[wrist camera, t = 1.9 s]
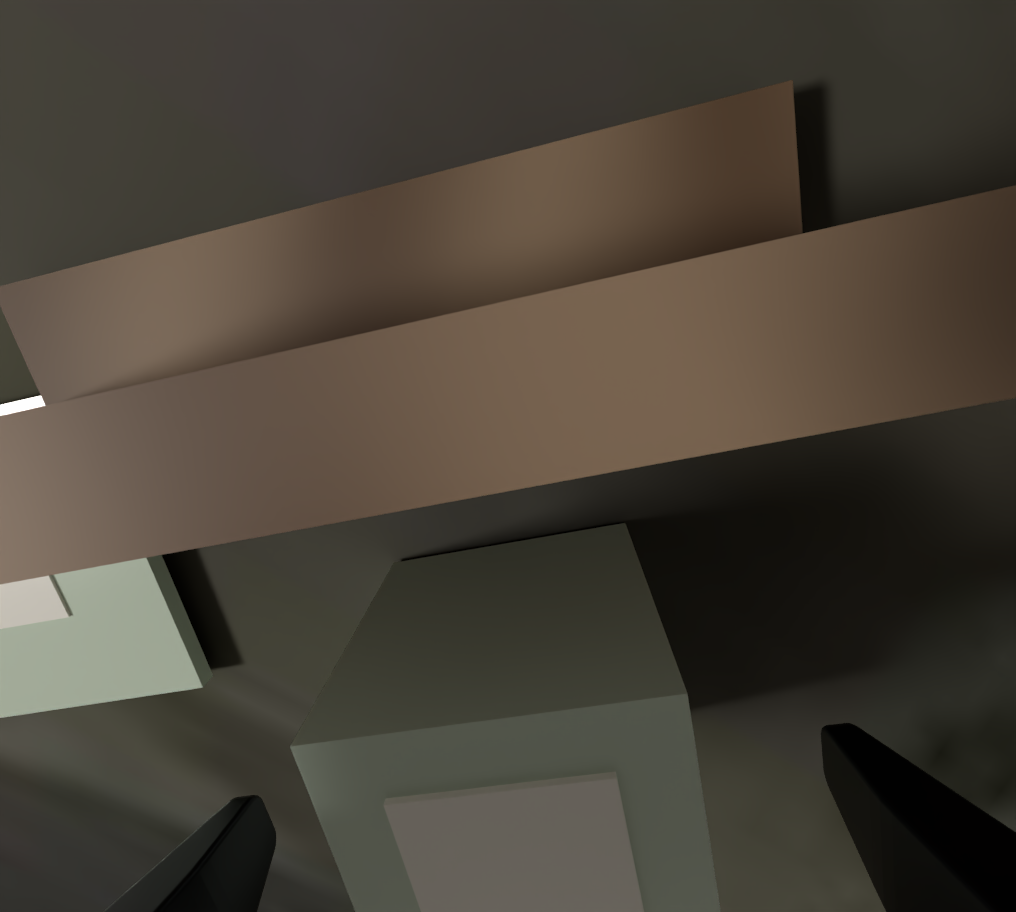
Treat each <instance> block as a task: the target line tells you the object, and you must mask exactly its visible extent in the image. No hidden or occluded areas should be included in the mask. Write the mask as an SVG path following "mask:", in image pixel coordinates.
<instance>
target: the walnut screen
mask: <svg viewBox="0 0 1016 912" xmlns="http://www.w3.org/2000/svg"><path fill="white" fill-rule="evenodd" d="M0 306H1V309H2V311H3V313H4V315H5V317H6V320H7V322H8V324H9V326H10V329H11V331H12V333H13V335H14V337H15V340H16V342H17V344H18V346H19V348H20V351H21V353H22V355H23V357H24V359H25V362H26V364H27V366H28V368H29V370H30V373H31V375H32V377H33V379H34V381H35V384H36V386H37V388H38V390H39V392H40V395H41V397H42V399H43V401H44V404H45V406H41V407H37V408H32V409H28V410H24V411H19V412H15V413H10V414H6V415H2V416H0V584H6V583H11V582H17V581H22V580H27V579H33V578H38V577H44V576H49V575H55V574H60V573H66V572H71V571H76V570H82V569H87V568H93V567H98V566H104V565H109V564H115V563H120V562H125V561H131V560H136V559H142V558H147V557H153V556H158V555H164V554H169V553H174V552H180V551H185V550H191V549H196V548H202V547H207V546H213V545H218V544H223V543H229V542H234V541H240V540H245V539H251V538H256V537H262V536H267V535H272V534H278V533H283V532H289V531H294V530H300V529H305V528H310V527H316V526H321V525H327V524H332V523H338V522H343V521H349V520H354V519H359V518H365V517H370V516H376V515H381V514H387V513H392V512H398V511H403V510H408V509H414V508H419V507H425V506H430V505H436V504H441V503H447V502H452V501H457V500H463V499H468V498H474V497H479V496H485V495H490V494H496V493H501V492H506V491H512V490H517V489H523V488H528V487H534V486H539V485H545V484H550V483H555V482H561V481H566V480H572V479H577V478H583V477H588V476H593V475H599V474H604V473H610V472H615V471H621V470H626V469H632V468H637V467H642V466H648V465H653V464H659V463H664V462H670V461H675V460H681V459H686V458H691V457H697V456H702V455H708V454H713V453H719V452H724V451H730V450H735V449H740V448H746V447H751V446H757V445H762V444H768V443H773V442H779V441H784V440H789V439H795V438H800V437H806V436H811V435H817V434H822V433H828V432H833V431H838V430H844V429H849V428H855V427H860V426H866V425H871V424H876V423H882V422H887V421H893V420H898V419H904V418H909V417H915V416H920V415H925V414H931V413H936V412H942V411H947V410H953V409H958V408H964V407H969V406H974V405H980V404H985V403H991V402H996V401H1002V400H1007V399H1013V398H1016V185H1014V186H1010V187H1006V188H1001V189H997V190H992V191H988V192H984V193H979V194H975V195H970V196H966V197H962V198H957V199H953V200H948V201H944V202H940V203H935V204H931V205H926V206H922V207H918V208H913V209H909V210H904V211H900V212H896V213H891V214H887V215H882V216H878V217H874V218H869V219H865V220H860V221H856V222H852V223H847V224H843V225H838V226H834V227H830V228H825V229H821V230H816V231H812V232H807V233H803V230H802V215H801V200H800V185H799V170H798V154H797V139H796V124H795V109H794V94H793V80H790V81H787V82H783V83H779V84H775V85H771V86H767V87H763V88H760V89H756V90H752V91H748V92H744V93H740V94H737V95H733V96H729V97H725V98H721V99H717V100H714V101H710V102H706V103H702V104H698V105H694V106H690V107H687V108H683V109H679V110H675V111H671V112H667V113H664V114H660V115H656V116H652V117H648V118H644V119H641V120H637V121H633V122H629V123H625V124H621V125H617V126H614V127H610V128H606V129H602V130H598V131H594V132H591V133H587V134H583V135H579V136H575V137H571V138H568V139H564V140H560V141H556V142H552V143H548V144H545V145H541V146H537V147H533V148H529V149H525V150H521V151H518V152H514V153H510V154H506V155H502V156H498V157H495V158H491V159H487V160H483V161H479V162H475V163H472V164H468V165H464V166H460V167H456V168H452V169H448V170H445V171H441V172H437V173H433V174H429V175H425V176H422V177H418V178H414V179H410V180H406V181H402V182H399V183H395V184H391V185H387V186H383V187H379V188H375V189H372V190H368V191H364V192H360V193H356V194H352V195H349V196H345V197H341V198H337V199H333V200H329V201H326V202H322V203H318V204H314V205H310V206H306V207H303V208H299V209H295V210H291V211H287V212H283V213H279V214H276V215H272V216H268V217H264V218H260V219H256V220H253V221H249V222H245V223H241V224H237V225H233V226H230V227H226V228H222V229H218V230H214V231H210V232H206V233H203V234H199V235H195V236H191V237H187V238H183V239H180V240H176V241H172V242H168V243H164V244H160V245H157V246H153V247H149V248H145V249H141V250H137V251H133V252H130V253H126V254H122V255H118V256H114V257H110V258H107V259H103V260H99V261H95V262H91V263H87V264H84V265H80V266H76V267H72V268H68V269H64V270H61V271H57V272H53V273H49V274H45V275H41V276H37V277H34V278H30V279H26V280H22V281H18V282H14V283H11V284H7V285H3V286H0Z"/></svg>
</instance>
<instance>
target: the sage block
mask: <svg viewBox="0 0 1016 912" xmlns="http://www.w3.org/2000/svg"><path fill="white" fill-rule="evenodd" d="M290 748H291V750H292V753H293V755H294V758H295V760H296V763H297V765H298V768H299V770H300V773H301V775H302V778H303V781H304V783H305V786H306V788H307V791H308V793H309V796H310V798H311V801H312V803H313V806H314V808H315V811H316V813H317V816H318V818H319V821H320V823H321V826H322V828H323V831H324V833H325V836H326V838H327V841H328V844H329V846H330V849H331V851H332V854H333V856H334V859H335V861H336V864H337V866H338V869H339V871H340V874H341V876H342V879H343V881H344V884H345V886H346V889H347V891H348V894H349V896H350V899H351V901H352V904H353V907H354V909H355V912H721V911H720V904H719V898H718V891H717V884H716V878H715V871H714V865H713V858H712V851H711V845H710V838H709V832H708V825H707V819H706V812H705V805H704V799H703V792H702V786H701V779H700V772H699V766H698V759H697V753H696V746H695V739H694V733H693V726H692V720H691V713H690V707H689V700H688V694H687V691H686V688H685V685H684V683H683V680H682V677H681V674H680V672H679V669H678V666H677V663H676V661H675V658H674V655H673V652H672V650H671V647H670V644H669V641H668V639H667V636H666V633H665V631H664V628H663V625H662V622H661V620H660V617H659V614H658V611H657V609H656V606H655V603H654V600H653V598H652V595H651V592H650V589H649V587H648V584H647V581H646V578H645V576H644V573H643V570H642V567H641V565H640V562H639V559H638V556H637V554H636V551H635V548H634V546H633V543H632V540H631V537H630V535H629V532H628V529H627V526H626V524H625V523H622V524H616V525H610V526H604V527H598V528H593V529H587V530H581V531H575V532H569V533H563V534H558V535H552V536H546V537H540V538H534V539H529V540H523V541H517V542H511V543H505V544H500V545H494V546H488V547H482V548H476V549H471V550H465V551H459V552H453V553H447V554H442V555H436V556H430V557H424V558H418V559H412V560H407V561H401V562H395V563H394V564H393V565H392V567H391V569H390V571H389V572H388V574H387V576H386V578H385V579H384V581H383V583H382V585H381V587H380V588H379V590H378V592H377V594H376V595H375V597H374V599H373V601H372V602H371V604H370V606H369V608H368V609H367V611H366V613H365V615H364V617H363V618H362V620H361V622H360V624H359V625H358V627H357V629H356V631H355V632H354V634H353V636H352V638H351V640H350V641H349V643H348V645H347V647H346V648H345V650H344V652H343V654H342V655H341V657H340V659H339V661H338V663H337V664H336V666H335V668H334V670H333V671H332V673H331V675H330V677H329V678H328V680H327V682H326V684H325V686H324V687H323V689H322V691H321V693H320V694H319V696H318V698H317V700H316V701H315V703H314V705H313V707H312V709H311V710H310V712H309V714H308V716H307V717H306V719H305V721H304V723H303V724H302V726H301V728H300V730H299V732H298V733H297V735H296V737H295V739H294V740H293V742H292V744H291V746H290Z"/></svg>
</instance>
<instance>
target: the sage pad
mask: <svg viewBox="0 0 1016 912" xmlns="http://www.w3.org/2000/svg"><path fill="white" fill-rule="evenodd" d="M41 406H45V404H44V401H43V399H42V397H41V396H36V397H32V398H28V399H23V400H19V401H15V402H10V403H6V404H2V405H0V416H2V415H6V414H10V413H15V412H19V411H24V410H28V409H32V408H37V407H41ZM212 677H213V674H212V672H211V669H210V667H209V665H208V662H207V660H206V658H205V655H204V653H203V651H202V648H201V646H200V644H199V641H198V639H197V637H196V634H195V632H194V630H193V627H192V625H191V623H190V620H189V618H188V616H187V613H186V611H185V609H184V606H183V604H182V601H181V599H180V597H179V594H178V592H177V590H176V587H175V585H174V583H173V580H172V578H171V576H170V573H169V571H168V569H167V566H166V564H165V562H164V559H163V557H162V555H158V556H153V557H147V558H142V559H136V560H131V561H125V562H120V563H115V564H109V565H104V566H98V567H93V568H87V569H82V570H76V571H71V572H66V573H60V574H55V575H49V576H44V577H38V578H33V579H27V580H22V581H17V582H11V583H6V584H0V718H2V717H9V716H16V715H22V714H29V713H36V712H43V711H49V710H56V709H63V708H69V707H76V706H83V705H89V704H96V703H103V702H109V701H116V700H123V699H129V698H136V697H143V696H150V695H156V694H163V693H170V692H176V691H183V690H190V689H196V688H203V687H204V686H205V685H206V683H207V682H208V681H209V680H210V679H211V678H212Z"/></svg>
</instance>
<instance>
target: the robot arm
mask: <svg viewBox="0 0 1016 912" xmlns="http://www.w3.org/2000/svg"><path fill="white" fill-rule="evenodd" d="M821 742H822V755H823V768H824V774H825V778H826V781H827V784H828V786H829V789H830V791H831V793H832V795H833V798H834V800H835V802H836V804H837V806H838V808H839V811H840V813H841V815H842V817H843V819H844V822H845V824H846V826H847V828H848V830H849V832H850V835H851V837H852V839H853V841H854V843H855V846H856V848H857V850H858V852H859V854H860V857H861V859H862V861H863V863H864V865H865V867H866V870H867V872H868V874H869V876H870V878H871V881H872V883H873V885H874V887H875V889H876V891H877V893H878V895H879V898H880V900H881V902H882V904H883V906H884V908H885V910H886V912H1016V832H1014V831H1013V830H1011V829H1010V828H1008V827H1007V826H1005V825H1004V824H1002V823H1001V822H999V821H998V820H996V819H995V818H993V817H992V816H990V815H989V814H987V813H986V812H984V811H983V810H981V809H980V808H978V807H977V806H975V805H974V804H972V803H971V802H969V801H968V800H966V799H965V798H963V797H962V796H960V795H959V794H957V793H956V792H955V791H953V790H952V789H950V788H949V787H947V786H946V785H944V784H943V783H941V782H940V781H938V780H937V779H935V778H934V777H932V776H931V775H929V774H928V773H926V772H925V771H923V770H922V769H920V768H919V767H917V766H916V765H914V764H913V763H911V762H910V761H908V760H907V759H905V758H904V757H902V756H901V755H899V754H898V753H896V752H895V751H893V750H892V749H890V748H889V747H887V746H886V745H884V744H883V743H881V742H880V741H878V740H877V739H875V738H874V737H872V736H871V735H869V734H868V733H866V732H865V731H863V730H862V729H860V728H859V727H857V726H856V725H853V724H851V723H843V724H834V725H826V726H824V727H823V728H822V731H821ZM275 846H276V831H275V828H274V826H273V824H272V821H271V819H270V817H269V814H268V812H267V810H266V807H265V805H264V803H263V801H262V799H261V798H260V797H259V796H258V795H250V796H242V797H236V798H234V799H232V800H230V801H229V802H228V803H227V804H226V805H224V806H223V807H222V808H221V809H220V810H219V811H218V812H216V813H215V814H214V815H213V816H212V817H211V818H210V819H208V820H207V821H206V822H205V823H204V824H203V825H202V826H201V827H199V828H198V829H197V830H196V831H195V832H194V833H193V834H191V835H190V836H189V837H188V838H187V839H186V840H185V841H183V842H182V843H181V844H180V845H179V846H178V847H177V848H175V849H174V850H173V851H172V852H171V853H170V854H169V855H167V856H166V857H165V858H164V859H163V860H162V861H161V862H159V863H158V864H157V865H156V866H155V867H154V868H153V869H151V870H150V871H149V872H148V873H147V874H146V875H145V876H144V877H142V878H141V879H140V880H139V881H138V882H137V883H136V884H134V885H133V886H132V887H131V888H130V889H129V890H128V891H126V892H125V893H124V894H123V895H122V896H121V897H120V898H118V899H117V900H116V901H115V902H114V903H113V904H112V905H110V906H109V907H108V908H107V909H106V910H105V911H104V912H257V910H258V906H259V903H260V899H261V896H262V892H263V889H264V885H265V882H266V878H267V875H268V871H269V868H270V864H271V861H272V857H273V854H274V850H275Z"/></svg>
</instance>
